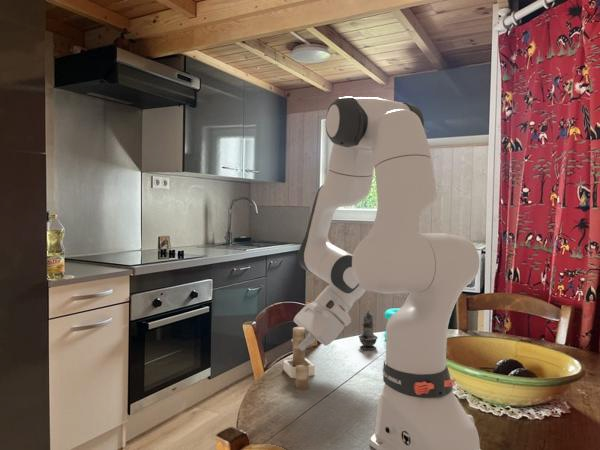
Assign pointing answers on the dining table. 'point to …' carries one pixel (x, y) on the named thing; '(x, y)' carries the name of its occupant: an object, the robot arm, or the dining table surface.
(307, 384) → the short pin
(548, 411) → the dining table surface
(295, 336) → the long pin
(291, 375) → the socket
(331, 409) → the dining table surface
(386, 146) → the robot arm
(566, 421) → the dining table surface
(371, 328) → the dark grey chess piece
